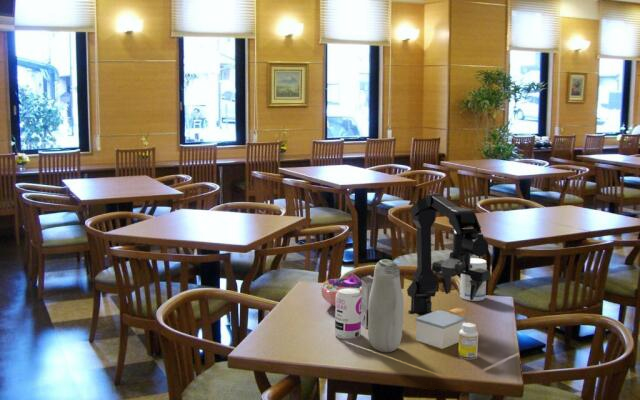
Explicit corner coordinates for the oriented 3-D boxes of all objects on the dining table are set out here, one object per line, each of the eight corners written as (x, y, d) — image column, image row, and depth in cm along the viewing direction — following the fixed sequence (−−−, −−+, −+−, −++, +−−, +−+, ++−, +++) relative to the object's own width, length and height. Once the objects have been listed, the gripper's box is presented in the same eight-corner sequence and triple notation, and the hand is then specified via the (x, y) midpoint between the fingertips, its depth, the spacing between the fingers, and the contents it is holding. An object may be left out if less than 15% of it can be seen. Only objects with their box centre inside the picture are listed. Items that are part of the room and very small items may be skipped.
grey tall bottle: (407, 352, 217) (411, 262, 213) (380, 358, 212) (383, 266, 207) (387, 342, 225) (390, 255, 221) (361, 348, 220) (363, 258, 215)
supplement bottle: (463, 352, 218) (465, 320, 216) (480, 357, 214) (482, 324, 213) (454, 357, 213) (456, 324, 212) (471, 362, 210) (473, 329, 208)
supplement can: (363, 333, 233) (364, 288, 230) (356, 342, 225) (357, 295, 223) (339, 330, 235) (340, 286, 233) (331, 338, 228) (332, 292, 225)
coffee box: (385, 321, 246) (387, 275, 243) (391, 327, 239) (393, 280, 237) (359, 322, 243) (361, 276, 241) (365, 329, 237) (367, 281, 235)
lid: (415, 325, 225) (415, 315, 225) (447, 313, 237) (447, 304, 237) (443, 333, 218) (443, 324, 217) (475, 321, 230) (475, 312, 230)
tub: (415, 342, 226) (416, 320, 225) (438, 333, 235) (439, 312, 233) (442, 350, 219) (443, 328, 218) (464, 341, 228) (465, 320, 227)
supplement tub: (490, 299, 274) (492, 261, 272) (472, 303, 269) (474, 264, 266) (472, 293, 282) (474, 256, 279) (454, 296, 277) (456, 259, 274)
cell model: (309, 305, 262) (310, 275, 260) (350, 296, 274) (351, 267, 273) (341, 317, 249) (341, 285, 247) (382, 307, 262) (383, 276, 260)
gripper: (422, 248, 229) (420, 295, 232) (473, 258, 217) (470, 308, 219) (442, 242, 237) (440, 288, 240) (492, 252, 225) (489, 301, 227)
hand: (459, 296), depth 231 cm, fingers open, 9 cm apart
